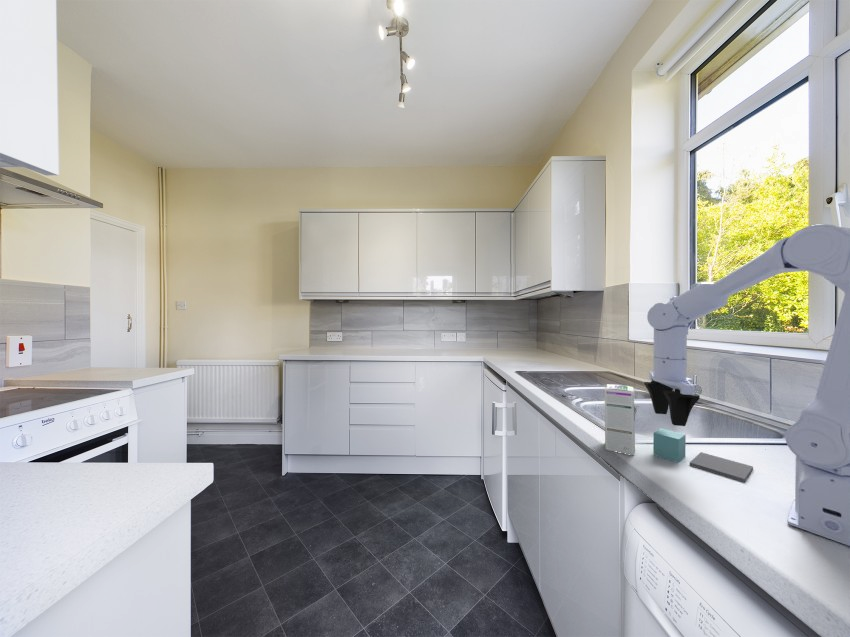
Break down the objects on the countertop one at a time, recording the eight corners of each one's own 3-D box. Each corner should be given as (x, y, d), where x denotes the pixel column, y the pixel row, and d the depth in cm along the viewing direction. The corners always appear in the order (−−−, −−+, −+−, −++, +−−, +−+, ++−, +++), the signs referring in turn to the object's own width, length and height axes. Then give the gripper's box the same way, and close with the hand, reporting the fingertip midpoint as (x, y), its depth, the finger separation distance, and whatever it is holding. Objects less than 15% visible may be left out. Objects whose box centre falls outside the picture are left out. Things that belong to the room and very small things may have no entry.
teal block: (678, 462, 65) (678, 439, 65) (653, 454, 68) (653, 432, 68) (685, 456, 67) (685, 434, 67) (660, 449, 71) (660, 428, 71)
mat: (744, 482, 57) (744, 479, 57) (689, 465, 64) (689, 462, 64) (752, 469, 62) (753, 466, 62) (700, 454, 68) (700, 452, 68)
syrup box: (635, 456, 68) (635, 391, 67) (604, 450, 71) (604, 387, 71) (634, 447, 72) (635, 386, 72) (605, 441, 76) (605, 382, 75)
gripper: (713, 363, 60) (712, 433, 60) (673, 354, 74) (672, 410, 74) (670, 362, 61) (670, 429, 62) (639, 353, 75) (639, 408, 76)
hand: (669, 419), depth 68 cm, fingers open, 7 cm apart
